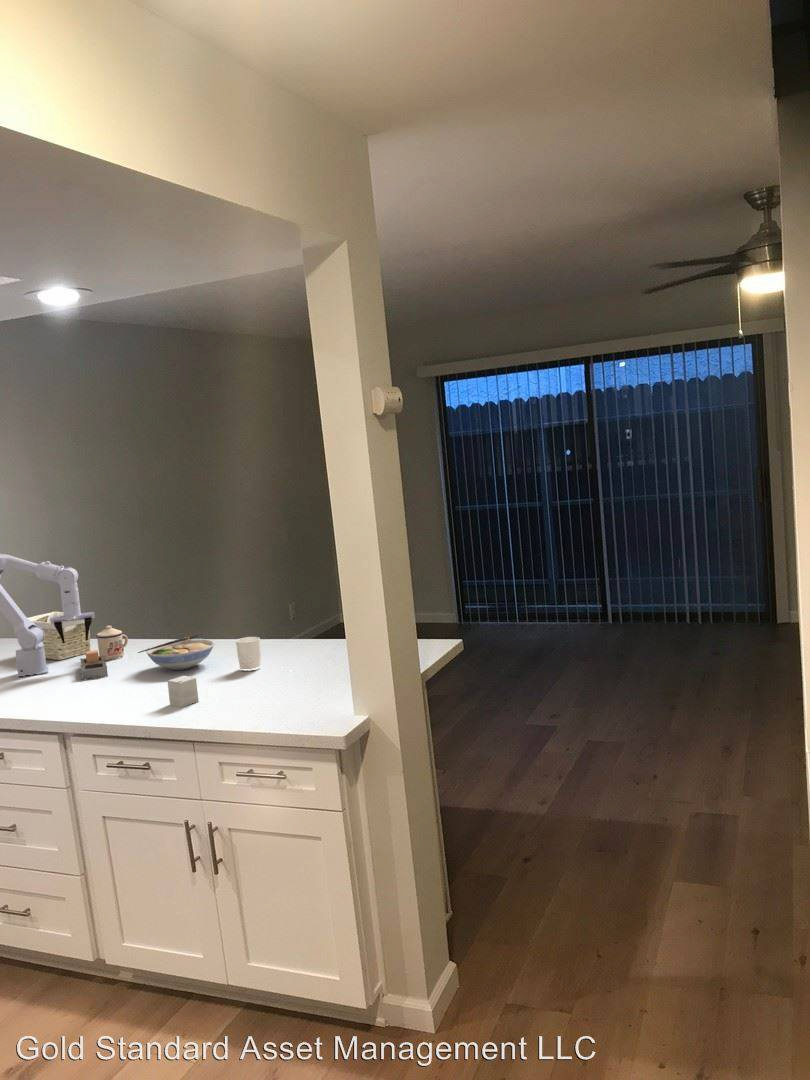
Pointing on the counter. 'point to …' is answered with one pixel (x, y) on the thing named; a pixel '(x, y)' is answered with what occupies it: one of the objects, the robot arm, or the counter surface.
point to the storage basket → (72, 637)
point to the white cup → (248, 652)
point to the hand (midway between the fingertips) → (75, 641)
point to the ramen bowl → (180, 652)
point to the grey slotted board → (94, 668)
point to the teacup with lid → (111, 643)
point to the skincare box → (182, 691)
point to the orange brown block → (92, 656)
